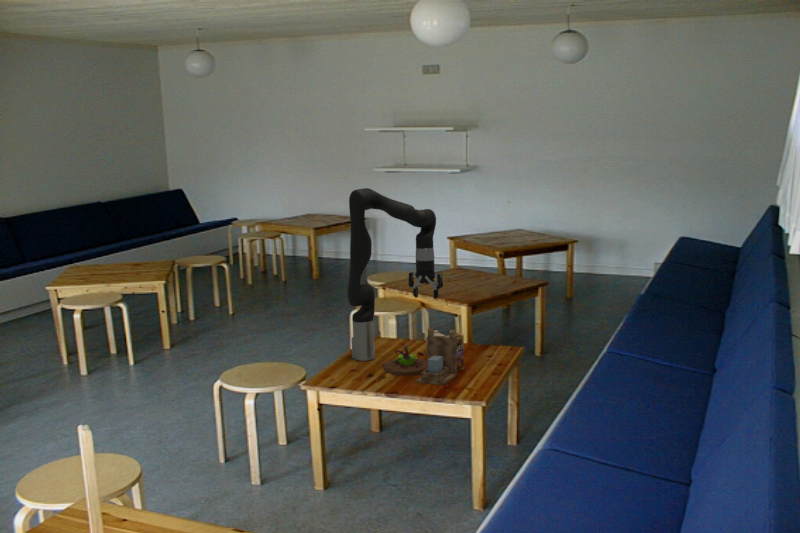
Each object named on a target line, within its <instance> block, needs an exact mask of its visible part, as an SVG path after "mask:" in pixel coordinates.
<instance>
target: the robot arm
mask: <svg viewBox="0 0 800 533" xmlns="http://www.w3.org/2000/svg"><path fill="white" fill-rule="evenodd" d="M348 197H349V200H348V206H349V208H348V209H349V219H350V239H349V240H350V245H349V254H350V255H349V273H348V274H349V276H348V283H347V300H348V303H349V305H350V306H351V307H360V308H359V309H357V311H355V312H354V313H352V337H351V356H352V357H351V359H352V358H354V359H353V360H356V361H360V362H361V361H365V362H367V361H372V360H374V359H375V358H376V356H375V355H376V352H375V350H376V348H375V326H374V325H375V324H374V323H375V322H374V316H375V306H376V305H375V302H376V301H375V299H376V298H375V297H376V296H375V290H374V287H373V285H372V284H370V283H361V280H362V275H363V274H364V271H365V269H366V268H367V266H368V265H369V264H368V263H370V260H371V257H372V237H371V235H370V232H369V230H368V229H367V227H366V222H365V221H366V220H365V219H366V211H368V210H379V211H382V212H384V213H386V214H387V215H389V216H390V217H391V218H394V219H396V220H400V221H403V222H406V223H407V224H409V225H411V226H413V227H415V228H418V229H419V228H420V231H419V232H418V233H417V234H416V236H415V271H416V272H414V271H411V272H409V273H408V287H409V288H412V294H413V295H412V296H414V298H416V299H417V298H418V297H419V288H418V287H419V286H420V285H421V284H425V285H426V284H427V285H428V284H429V285H430V286H431V287H432V289H433V300H436V299H438V298H439V294H440V293H439V290H440V289H442V288H443V287H444V282H443V274H442V272H440V273H436V272H435V250H434V234H435V230H436V225H437V217H436V213H435V212H434V211H433V210H432V209H430V208H425V209H416V208H415V207H414V206H413V205H412V204H411V205H410V204H408V203H405V202H402V201H398V200H396V199H395V200H394V199H392V198H389V197H387V196H385V195H383V194H381V193H379V192H377V191H375V190H373V189H371V188H368V187H366V188H365V187H364V188H358V189H354V190H352V191H351V192H350V194H349V196H348ZM415 277H416V281H414V280H415V279H414V278H415ZM435 279H436V280H435Z"/></svg>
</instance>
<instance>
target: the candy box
mask: <svg viewBox="0 0 800 533" xmlns="http://www.w3.org/2000/svg"><path fill="white" fill-rule="evenodd" d="M455 334H456V357H457V372H458V371H461V370H465V369H464V368H465V364H464V360H465V359H464V358H465V356H464V354H465V353H464V352H465V351H464V348H465V346H464V344H465V343H464V340H465V338H464V334H463V333H459V332H457V333H456V332H455ZM445 337H450V334H446V335H445Z"/></svg>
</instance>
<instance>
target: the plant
mask: <svg viewBox="0 0 800 533" xmlns="http://www.w3.org/2000/svg"><path fill="white" fill-rule="evenodd" d="M403 350H404V351H405V352H403V351H401V350H394V351H393V355H397V353H399V354H398V355H397V357H395V358H394V359H393V360H389V361H385V362H383V363H382V370H383V371H384V372H386V373H388V374H390V375H392V376H405V377H407V376H420V375H421V372H422V371H424V370H425V369H427V368H428V360H425V359H421V358H419V357H418V356H416V354H415V353H411V354H410V355H409V351H410V350H411V347H410V345H405V346H403ZM415 356H416V357H415Z"/></svg>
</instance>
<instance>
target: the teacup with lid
mask: <svg viewBox="0 0 800 533" xmlns="http://www.w3.org/2000/svg"><path fill="white" fill-rule="evenodd" d="M427 336H428V334H427V335H426V336H425V339H426V342H425V343H426V355H427V356H428V338H427ZM434 336H446V335H445V334H443V333H440V332H439V330H437V329H436V330H434Z"/></svg>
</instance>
